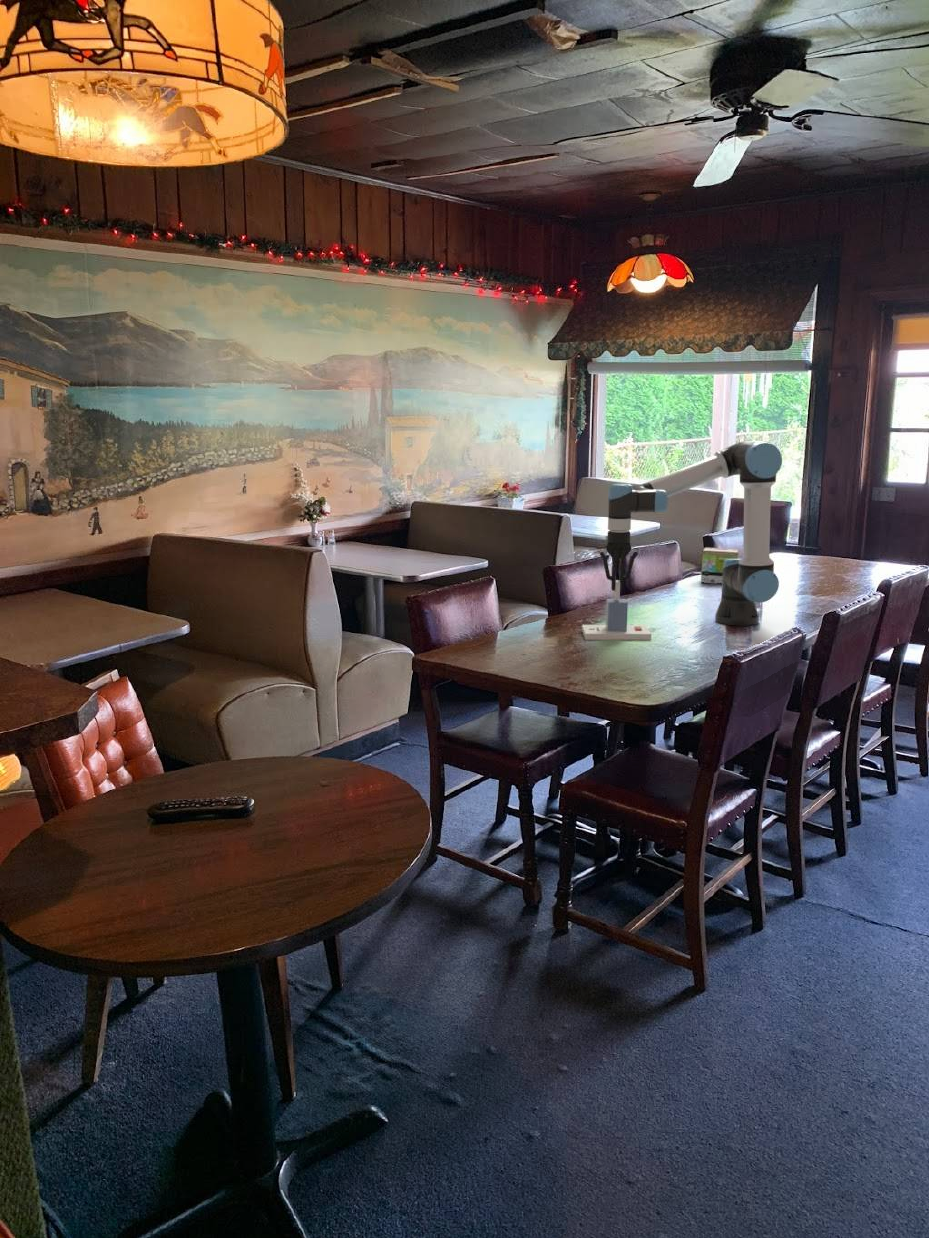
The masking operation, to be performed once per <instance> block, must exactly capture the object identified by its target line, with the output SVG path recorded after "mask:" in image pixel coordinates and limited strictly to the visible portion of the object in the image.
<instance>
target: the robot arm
mask: <svg viewBox="0 0 929 1238" xmlns="http://www.w3.org/2000/svg"><path fill="white" fill-rule="evenodd" d="M782 465H783V457H782V453H781V451H780V449H779V448H778V447H777V446H776V445H775V444H773V443H771V442H767V441H765V440H742V441H740V442H737V443H736V442H735V443H734V444H732V445H729V446H727V447H725V448H722V449H721V450H718V451H716V452H715V453H714V455H713V456H711V457H708V458H705V459H702V460H701V461H698V462H695V463H693V464H690V465H688V466H687V465H686V466H685V467H683V468H680V469H678V470H675V471H672V472H670V473H667V474H665V475H664V474H663V475H662V476H659V477H656V478H654V479H652V480H649V481H646V482H644V483H641V484H638V485H636V484H635V485H632V484H630V483H613V484H611V485H610V486H609V489H608V498H607V500H608V510H607V511H608V513H607V516H608V517H607V529H608V530H609V531H607V540H606V541H607V544H606V546H605V548H604V549H602V550H600V551H598V552H599V553H598V554H599V555H600V556H601V558H602V562H603V563H602V564H603V568H604V572H605V577H606V579H607V580H610V581H611V587H610V588H611V590H612V591H613V592H614V593H613V594H614V598H613V599H614V600H615V601H620V599H621V591H623V590H624V581H628V580H630V576H631V573H632V569H633V567H634V566H633V565H634V562H635V559H636V557H637V556H638V554H639V553H638V551H636V550H634V549H633V548H632V546H631V531H630V530H632V529H631V527H632V525H631V524H632V514H633V513H635V514H636V513H656V514H657V513H664V512H665V511H666V510H667V507H668V504H669V497H672V496H674V495H678V494H680V493H682V492H685V491H687V490H690V489H693V488H696V487H698V486H701V485H703V484H705V483H708V482H711V481H713V480H715V479H718V478H724V479H726V478H729V477H732V476H736V475H739V484H740V485H742V486H743V540H742V541H743V542H742V543H743V545H742V546H743V552H742V556H743V557H742V558H738V559H726V560H725V561H724V563H723V568H722V570H723V575H722V584H721V598H720V602H719V605H718V606H717V607H718V608H717V610H716V612H715V617H714V618H715V619H714V621H716V623H720V624H723V625H726V626H727V625H728V626H737V627H740V626H741V627H742V626H743V627H744V626H745V627H746V626H747V627H748V626H754V625H758V624H759V622H760V621H759V619H760V618H759V617H760V616H759V612H758V610H757V609H758V608H757V605H756V603H757V604H758V603H759V604H760V603H761V604H762V603H765V602H767V601H770V600H771V599H773V598H774V596H776V594H777V592H778V589H779V587H780V580H779V578H778V576H777V575H776V574H775V572H774V571H775V569H774V568H775V567H774V565H775V563H774V562H775V561H774V560H773V559H772V558H771V557H770V548H771V547H770V544H771V543H770V541H771V539H770V538H771V537H770V536H771V535H770V534H771V501H772V499H771V498H772V493H771V492H772V486H773V485H775V483H776V482H777V474H778V472H779V471H780V469H781V467H782ZM607 553H608V554H609V556H610V557H611V574H610V569H609V565H608V564H609V563H608V559H607V555H608V554H607ZM628 555H629V559H628V563H627V566H626V570H625V560H626V559H625V558H626V557H627V556H628ZM618 559H619V571H618V572H619V573H618V574H619V578H618V579H619V580H618V579H617V563H618Z"/></svg>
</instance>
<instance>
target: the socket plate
mask: <svg viewBox="0 0 929 1238" xmlns="http://www.w3.org/2000/svg"><path fill="white" fill-rule="evenodd" d="M581 631H582V633H583V637H584V640H589V641H591V640H594V641H595V640H599V641H601V640H603V641H604V640H605V641H607V640H609V641H610V640H617V641H619V640H621V641H622V640H625V641H628V640H633V641H634V640H635V641H642V640H643V641H644V640H646V641H650V640H652V632H651V631H650V629H649V628H648V627H647V625H646V624H627V632H617V631H607V629H606V624H582V626H581Z"/></svg>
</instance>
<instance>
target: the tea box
mask: <svg viewBox="0 0 929 1238" xmlns="http://www.w3.org/2000/svg"><path fill="white" fill-rule="evenodd" d="M739 552H740V549H739V548H723V547H722V548H721V547H704V548H703V551H702V557H701V558H702V560H701V561H702V562H701V572H700V583H701V582H704V584H705V583H706V584H717V583H722V575H723V570H722V568H723V563H724V561H725V560H726V559H739V554H740V553H739Z"/></svg>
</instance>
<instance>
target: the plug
mask: <svg viewBox="0 0 929 1238" xmlns="http://www.w3.org/2000/svg"><path fill="white" fill-rule="evenodd" d="M605 602H606V603H605V604H606V607H605V608H606V609H605V625H606V629H607V631H617V632H627V625H628V607H629V606H628V605H629V603H628V601H627V599H626V598H620V601H615V600H614V598H606V600H605Z"/></svg>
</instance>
